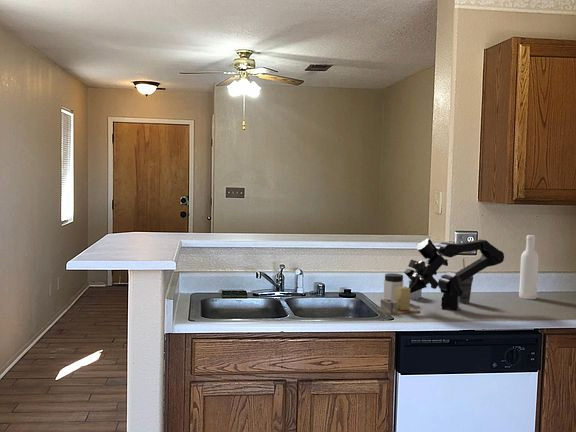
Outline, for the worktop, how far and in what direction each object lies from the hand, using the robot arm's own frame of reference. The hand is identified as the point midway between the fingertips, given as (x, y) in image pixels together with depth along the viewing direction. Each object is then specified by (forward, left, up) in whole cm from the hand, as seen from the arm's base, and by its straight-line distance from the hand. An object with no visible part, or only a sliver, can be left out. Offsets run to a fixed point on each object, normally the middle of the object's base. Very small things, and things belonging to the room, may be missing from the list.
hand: (408, 293), depth 250 cm
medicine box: (+4, -29, -8) cm, 30 cm away
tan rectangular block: (+4, +4, -7) cm, 8 cm away
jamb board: (+2, +2, -8) cm, 8 cm away
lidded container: (+11, -17, -8) cm, 22 cm away
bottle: (-43, -59, -8) cm, 73 cm away
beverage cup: (-18, -31, -8) cm, 37 cm away
